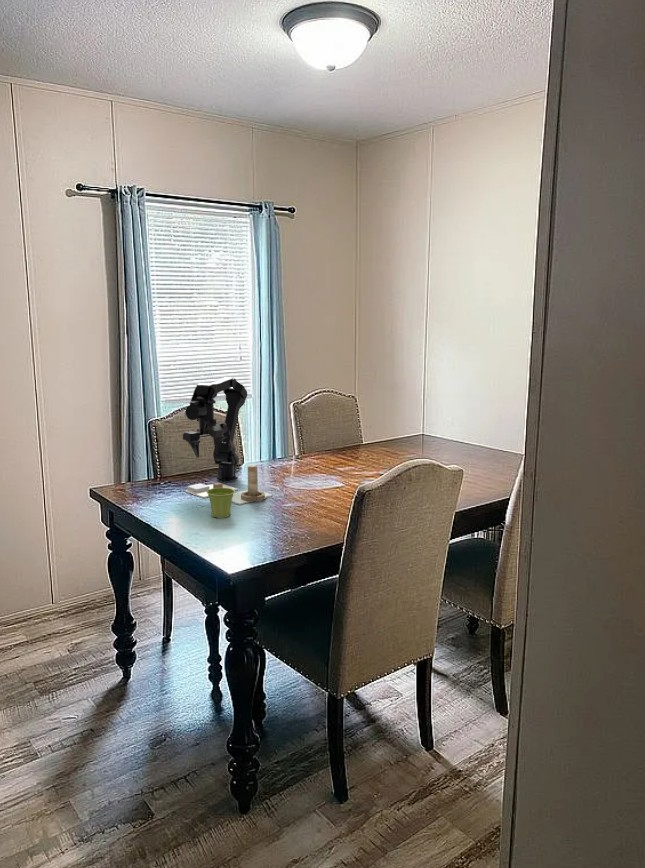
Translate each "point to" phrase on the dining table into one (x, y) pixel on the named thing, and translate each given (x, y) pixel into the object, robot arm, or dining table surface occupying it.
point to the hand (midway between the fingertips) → (207, 455)
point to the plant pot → (220, 501)
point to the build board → (238, 497)
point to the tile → (204, 494)
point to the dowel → (252, 481)
